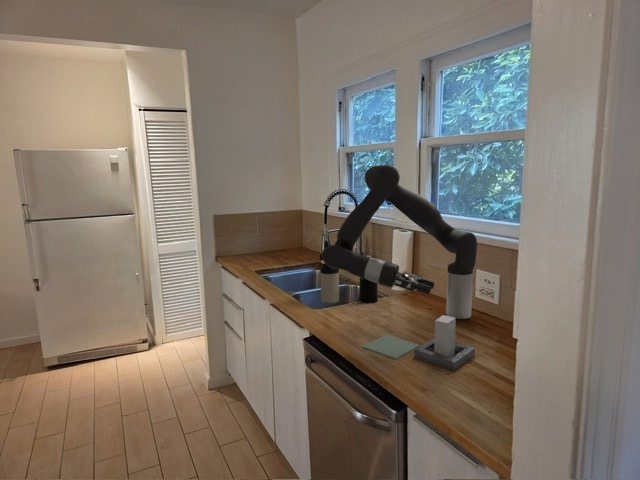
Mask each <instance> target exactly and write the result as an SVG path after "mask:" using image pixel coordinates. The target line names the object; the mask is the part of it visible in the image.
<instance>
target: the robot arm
mask: <svg viewBox="0 0 640 480" xmlns="http://www.w3.org/2000/svg"><path fill="white" fill-rule="evenodd" d="M400 176H401V175H400V173H399V170H398V169H397V167H396V166H394V165H390V164H380V165H374V166H371V167H370V168H368V169H367V170H366V172H365V173H364V181H365V186H367V188H368V189H369V191H368V193H367V195H366V196H364V198H363V200H362V201H361V202H360V203H359V204H358V205H356V207H355V208H353V210H351V212H350V213H349V214H348V215H347V217H346V218H345V220H344V222H343V223H342V224H341V226H340V228H339V230H338V232H337V234H336V240H335V243H334V244H330V245H328V246H325V247H324V249H322V252H321V258H322V260H323V261H324V263H325V264H326V265H328V266H329V267H330V268H331V269H334V270H338V269H339V270H344V271H346V272H348V273H350V274H351V275H353V276H356V277H359V278H360V277H362V278H365V279H367V280H370V281H372V282H375V283H377V285H381V286H384V287H387V288H390V289H391V288H394V286H395V287H398V288H402V289H404V290H408V291H410V292H417V291H418V292H419V293H423V294H428V295H429V294H430V293H431V290H432V289H434V287H435V282H434V281H432V280H428V279H425V278H423V276H421V275H418V274H414V273H411V272H408V271H405V270H403V272H400V265H398V264H396V263H392V262H389V261H386V260H384V259H379V258H375V257H372V256H371V257H367V256H368V255H363V254H360V253H356V252H354V251H353V249H354V247H355V244H357V242H358V240H359V239H360V236H361V235H362V234H363V232H364V230H365V229H366V227H367V226H368V224H369V222H370V221H371V219H373V216H374V215H375V214H376V213H377V211H378V210H379V209H380V207H381V206H382V205H383V204H384V202H385V201H388V202H389V203H390V204H392V205H393V206H394V207H395V208H396V209H397V210H398V211H399V212H401V213H402V214H403V215H405V217H407V218H408V219H409V220H410V221H412V222H413V223H414V224H415V225H416V226H418V227H420V228H421V229H422V230H423V231H425V232H426V233H427V234H429V235H431V236H432V237H433V238H434V239H436V240H437V242H438V243H440V245H441V246H442V247H443V248H444V249H445V250H446V251H447V252H449V253H452V254H454V255H455V260H454V262H451V263H449V264H447V278H446V304H445V305H446V306H445V307H446V308H445V309H446V310H445V314H446V315H445V316H450V317H455V318H456V319H457V320H467V319H470V318H472V303H473V281H474V278H473V277H474V268H475V266H476V261H477V252H478V240H477V237H476V236H475V234H474V233H473V232H470V231H466V230H461V229H460V230H459V229H456V228H454V227H453V226H451V225H450V224H449V223H447V222H446V221H445V220H444V219H443V217H442V215H441V212H440V210H439V209H438V208H437V206H436V205H434V203H432V202H430V201H429V200H428V199H427V198H425V197H424V196H423V195H421V194H419V193H417V192H415V191H413V190H410V189H408V188H406V187H404V186H402V185H401V184H400V180H401V179H400Z"/></svg>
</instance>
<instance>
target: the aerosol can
mask: <svg viewBox="0 0 640 480" xmlns="http://www.w3.org/2000/svg"><path fill="white" fill-rule="evenodd" d="M366 256H367V257H371V258H372V256H371V255H366ZM378 300H379V298H378V283H375V282H372V281H370V280H367V279H365V278H362V277H359V300H358V301H359V302H360V303H364V304H375V303H378Z"/></svg>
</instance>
